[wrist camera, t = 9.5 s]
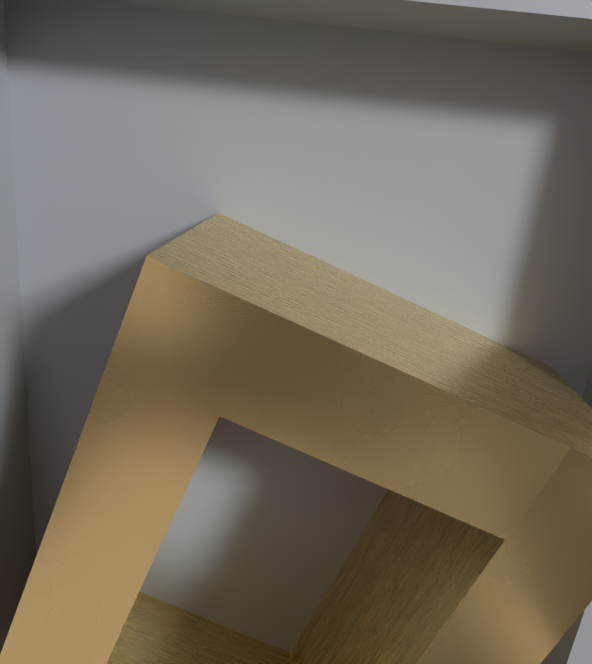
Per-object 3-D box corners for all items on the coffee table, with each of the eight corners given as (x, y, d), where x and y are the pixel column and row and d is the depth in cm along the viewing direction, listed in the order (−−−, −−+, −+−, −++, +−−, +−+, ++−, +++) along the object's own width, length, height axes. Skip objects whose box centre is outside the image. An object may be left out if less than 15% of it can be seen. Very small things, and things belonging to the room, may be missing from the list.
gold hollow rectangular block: (218, 212, 8) (146, 255, 5) (550, 366, 9) (677, 496, 6) (31, 679, 12) (-85, 886, 8) (279, 774, 12) (260, 1005, 9)
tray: (497, 804, 13) (530, 935, 10) (15, 738, 13) (-46, 853, 11) (759, -9, 7) (926, -69, 5) (-53, -89, 8) (-196, -175, 6)
